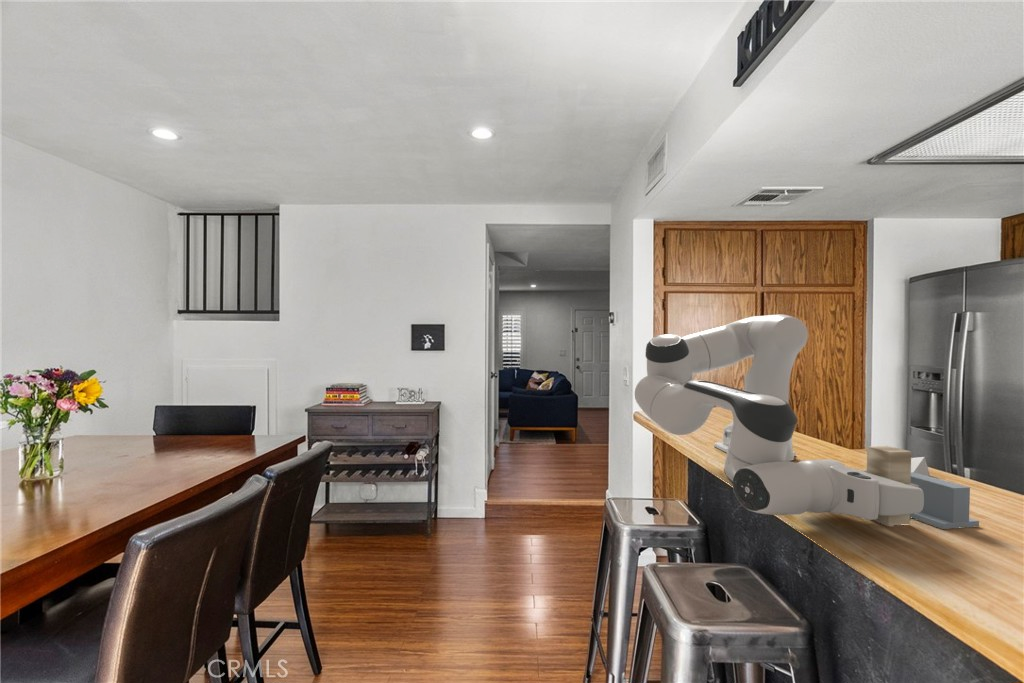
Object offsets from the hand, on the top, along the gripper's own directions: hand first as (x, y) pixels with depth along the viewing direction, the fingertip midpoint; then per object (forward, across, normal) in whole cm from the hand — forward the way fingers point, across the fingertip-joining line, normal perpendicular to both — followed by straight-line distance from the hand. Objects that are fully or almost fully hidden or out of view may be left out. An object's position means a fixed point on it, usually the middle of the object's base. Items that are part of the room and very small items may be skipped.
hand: (892, 481), depth 92 cm
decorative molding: (+22, -20, -8) cm, 31 cm away
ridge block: (+9, 0, -7) cm, 11 cm away
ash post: (-1, 0, -7) cm, 7 cm away
